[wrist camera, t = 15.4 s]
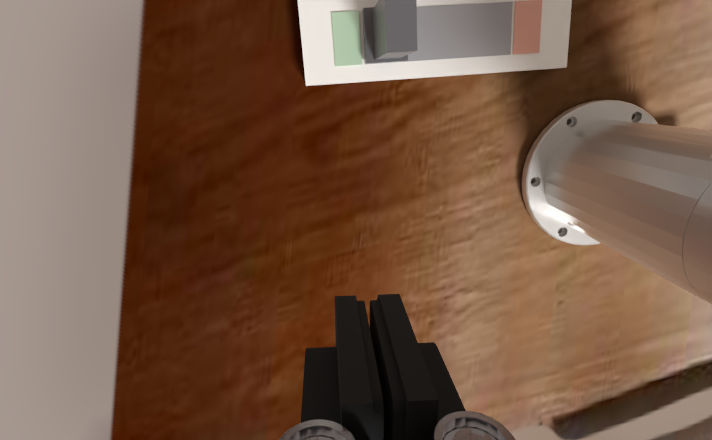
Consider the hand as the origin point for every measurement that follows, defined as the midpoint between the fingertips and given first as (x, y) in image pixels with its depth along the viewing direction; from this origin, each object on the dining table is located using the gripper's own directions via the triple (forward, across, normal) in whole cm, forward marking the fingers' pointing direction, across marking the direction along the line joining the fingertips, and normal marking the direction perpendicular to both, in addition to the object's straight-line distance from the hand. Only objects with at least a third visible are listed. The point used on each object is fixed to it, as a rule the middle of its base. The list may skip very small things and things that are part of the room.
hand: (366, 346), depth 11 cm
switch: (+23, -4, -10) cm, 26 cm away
